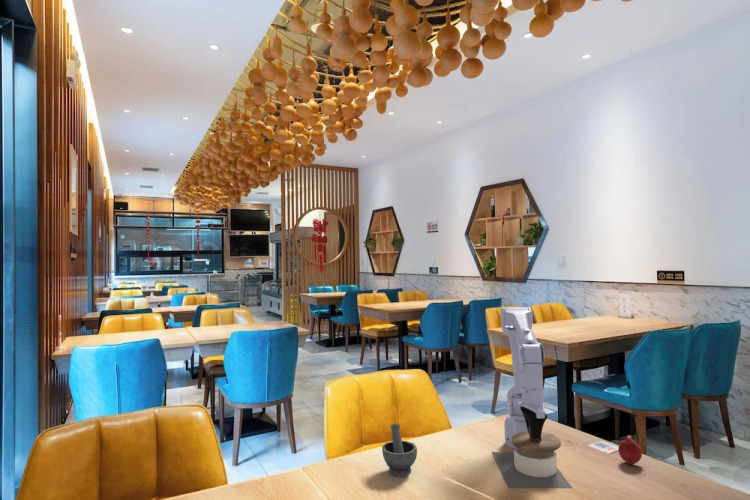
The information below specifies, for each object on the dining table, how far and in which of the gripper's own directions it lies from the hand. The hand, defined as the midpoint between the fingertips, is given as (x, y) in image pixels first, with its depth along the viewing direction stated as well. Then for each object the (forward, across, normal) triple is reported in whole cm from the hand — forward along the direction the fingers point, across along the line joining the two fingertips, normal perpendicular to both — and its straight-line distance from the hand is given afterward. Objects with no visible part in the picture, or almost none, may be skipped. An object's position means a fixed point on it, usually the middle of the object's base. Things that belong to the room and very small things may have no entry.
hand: (534, 435), depth 126 cm
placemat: (+9, 0, -2) cm, 10 cm away
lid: (+2, 0, 0) cm, 2 cm away
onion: (+10, -3, +27) cm, 29 cm away
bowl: (+9, 0, 0) cm, 9 cm away
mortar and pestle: (+10, 0, -38) cm, 39 cm away
